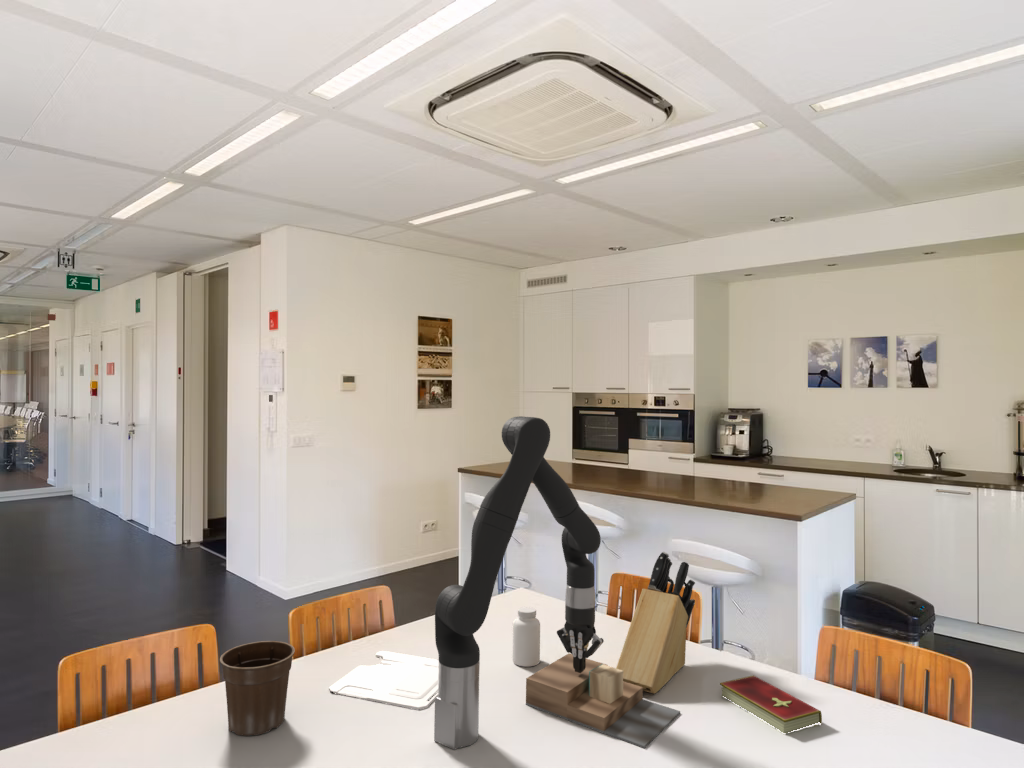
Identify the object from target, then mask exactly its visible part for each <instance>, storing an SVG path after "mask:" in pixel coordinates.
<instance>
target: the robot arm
mask: <svg viewBox="0 0 1024 768" xmlns="http://www.w3.org/2000/svg"><path fill="white" fill-rule="evenodd" d="M501 440H502V442H503V445H504V447H505V448H506V450H507V451H508V452H509V454H511V457H510V460H509V463H508V465H507V467H506V469H505V471H504V473H503V474H502V475H501V477H499V479H498V480H497V481H496V482H495V484H493V486H492V487H491V488H490V490H489V491H488V492H487V493H486V495H485V496H484V497H483V500H482V501H481V504H480V505H479V508H478V511H477V514H476V516H475V518H474V521H473V525H472V528H471V529H472V530H471V531H472V532H471V543H470V545H471V547H470V548H471V550H470V551H471V552H470V557H471V558H470V563H469V564H470V565H469V567H468V568H469V569H468V571H467V575H466V578H465V581H464V583H463V585H460V584H451V585H449V586H447V587H445V588H443V590H441V592H440V593H439V595H438V597H437V599H436V603H435V607H434V609H435V610H434V631H435V633H434V635H435V637H434V638H435V646H436V650H437V653H438V660H439V671H438V692H437V693H438V697H436V698H435V700H434V726H433V727H434V729H433V730H434V733H433V734H434V735H433V738H434V742H436V743H438V744H440V745H443V746H445V747H447V748H449V749H451V750H456V749H459V748H465V747H469V746H470V745H473V744H475V743H476V742H477V741H478V739H479V721H480V720H479V719H480V716H479V715H480V710H479V709H480V707H479V706H480V659H481V657H480V655H481V654H480V646H479V643H478V642H477V640H476V638H475V637H474V634H475V633H476V632H478V630H480V628H481V627H482V626H483V624H484V622H485V620H486V618H487V615H488V612H489V608H490V604H491V601H492V596H493V592H494V588H495V585H496V582H497V578H498V575H499V572H500V568H501V566H502V562H503V560H504V558H505V554H506V551H507V548H508V545H509V543H510V540H511V538H512V537H513V533H514V530H515V528H516V525H517V521H518V519H519V516H520V514H521V511H522V507H523V506H524V504H525V503H524V502H525V500H526V497H527V495H528V492H529V490H530V487H531V484H532V483H533V485H534V486H535V488H536V489H537V490H538V492H539V494H540V496H541V497H542V499H543V500H544V502H545V504H546V506H547V508H548V509H549V511H550V513H551V514H552V517H553V518H554V520H555V521H556V523H558V524H559V525H561V526H562V527H564V528H563V530H562V534H561V546H562V547H561V549H562V553H563V557H564V562H565V565H566V588H565V599H564V600H565V603H564V604H565V607H564V608H565V610H564V613H565V614H564V619H565V623H564V624H563V625H564V626H563V627H562V628H560V629H558V630H557V631H556V634H557V637H558V638H559V640H560V641H561V644H562V645H563V648H564V649H565V651H566V652H567V654H572V655H573V668H574V669H575V672H578V673H581V672H583V671H584V670H585V668H586V659H589V658H590V657H591V656H593V655H594V654H595V653H596V651H597V650H598V649H599V648H600V647H601V645H602V644H603V643H604V642H605V641H604V638H603V637H599V635H597V631H596V627H595V622H596V590H595V578H596V577H595V576H596V575H595V571H596V570H595V566H594V564H593V563H592V561H591V560H589V559H588V557H587V555H591V554H594V553H596V552H597V551H598V550H599V549H600V547H601V543H602V538H601V534H600V532H599V531H600V530H599V528H598V527H597V526H596V524H595V522H593V520H592V519H591V518H590V517H589V516H588V514H587V513H586V512H585V511H584V510H583V509H582V508H581V507H580V504H579V502H578V500H577V498H576V497H575V495H574V493H573V491H572V490H571V488H570V486H569V485H568V484H567V482H566V481H565V479H563V478H562V476H561V475H560V474H559V473H558V472H557V471H556V470H555V469H554V468H553V467H552V466H551V465H550V464H549V462H548V461H547V460H546V458H545V457H544V456H545V454H546V452H547V450H548V448H549V445H550V442H551V429H550V426H549V424H548V423H547V422H546V420H544V419H543V418H540V417H534V416H519V415H518V416H513V417H511V418H509V419H507V420H506V421H505V423H504V424H503V426H502V429H501ZM590 642H591V646H589V644H590Z"/></svg>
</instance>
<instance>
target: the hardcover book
mask: <svg viewBox="0 0 1024 768" xmlns="http://www.w3.org/2000/svg"><path fill="white" fill-rule="evenodd" d="M719 685H720V686H721V697H722V696H724V697H726V698H727V699H729V700H731V701H732V702H734V703H735V704H737V705H739V706H741V707H742V708H744V709H746V710H747V711H749V712H751V713H753V714H754V715H756V716H757V717H759V718H761V719H763V720H764V721H766V722H767V723H769V724H770V725H772V726H774V727H775V728H777V729H779V730H780V731H781V732H783V733H788V732H791V731H793V730H797V729H800V728H803V727H806V726H809V725H812V724H815V723H818V722H820V723H822V722H823V717H822V710H821V709H818V708H816V707H814V706H812V705H810V704H808V703H806V702H805V701H804V700H803V701H802V700H800V699H799V698H797V697H795V696H794V695H791V694H790V693H787V692H786V691H784V690H781V688H778V687H776V686H775V685H772V684H771V683H769V682H766V681H765V680H763V679H762V678H759V677H758V676H756V675H750V676H745V677H741V678H736V679H732V680H727V681H723V682H719ZM822 724H823V723H822ZM781 732H780V733H781Z"/></svg>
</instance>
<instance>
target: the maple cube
mask: <svg viewBox="0 0 1024 768" xmlns="http://www.w3.org/2000/svg"><path fill="white" fill-rule="evenodd" d="M604 664H605V663H603V664H602V665H600V666H598V667H596V668H594V669H593V670H591V671H589V696H590V697H593V698H596V699H598V700H601V701H603V702H606V703H609V704H611V703H612V702H614V701H615V700H617V699H618V698H620V697H621V696H623V671H622V670H619V669H616V667H612V666H610V665H608V664H607V665H608V666H607V665H604Z"/></svg>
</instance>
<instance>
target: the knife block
mask: <svg viewBox="0 0 1024 768" xmlns="http://www.w3.org/2000/svg"><path fill="white" fill-rule="evenodd" d="M669 557H670V555H669V553H667V552H665V551H662V552H661V553H660V555H659V556H657V558H656V561H655V563H654V566H653V568H652V572H651V575H650V579H649V583H648V585H647V588H642V589H641V592H640V595H639V598H638V601H637V604H636V607H635V611H634V612H633V616H632V618H631V622H630V625H629V627H628V630H627V634H626V636H625V637H626V638H625V640H624V643H623V646H622V649H621V652H620V656H619V658H618V662H617V664H616V667H615V668H616V669H619V670H622V671H623V681H624V682H627V683H631V684H634V685H637V686H640V687H643V692H647V693H650V694H656V693H657V692H659V691H660V690H661V689H662V688H663V687H664V686H665V685H666V684H667V683H668V682H669V681H670V680H671V679H672V677H673V676H674V675H675V674H677V672H679V670H681V669H682V667H684V666H685V664H686V650H687V649H686V647H687V646H686V645H687V643H686V642H687V628H688V625H689V622H690V619H691V616H692V612H693V609H694V606H695V604H696V603H695V602H696V600H695V599H693V598H692V594H693V589H694V586H695V584H696V582H695V581H694V580H693V579H689V580H688V581H687V582H686V579H687V576H688V573H689V567H690V564H689V563H688V562H686V561H682V562H680V565H679V567H678V570H677V573H676V576H675V580H673V579H672V578H671V577H670V571H671V570H670V569H671V568H672V565H673V562H672V560H671V559H670V558H669ZM668 584H669V587H668ZM683 587H684V588H683ZM682 589H683V591H682ZM667 590H668V591H667ZM681 592H682V595H681ZM691 598H692V599H691Z"/></svg>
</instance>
